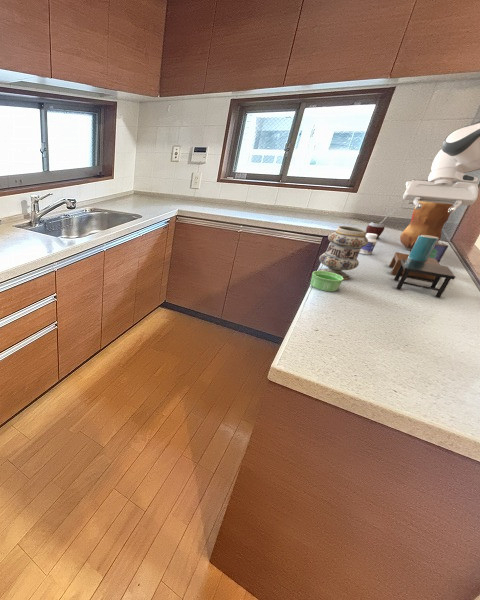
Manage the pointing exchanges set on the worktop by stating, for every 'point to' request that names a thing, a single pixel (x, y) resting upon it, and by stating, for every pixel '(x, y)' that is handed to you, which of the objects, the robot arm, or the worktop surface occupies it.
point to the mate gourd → (376, 227)
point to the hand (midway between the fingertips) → (434, 210)
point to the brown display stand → (399, 256)
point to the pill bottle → (369, 244)
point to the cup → (423, 248)
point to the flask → (438, 251)
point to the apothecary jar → (343, 250)
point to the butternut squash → (425, 222)
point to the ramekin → (326, 280)
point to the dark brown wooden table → (424, 269)
